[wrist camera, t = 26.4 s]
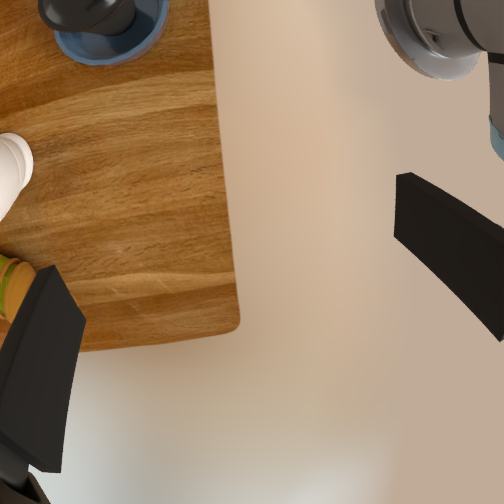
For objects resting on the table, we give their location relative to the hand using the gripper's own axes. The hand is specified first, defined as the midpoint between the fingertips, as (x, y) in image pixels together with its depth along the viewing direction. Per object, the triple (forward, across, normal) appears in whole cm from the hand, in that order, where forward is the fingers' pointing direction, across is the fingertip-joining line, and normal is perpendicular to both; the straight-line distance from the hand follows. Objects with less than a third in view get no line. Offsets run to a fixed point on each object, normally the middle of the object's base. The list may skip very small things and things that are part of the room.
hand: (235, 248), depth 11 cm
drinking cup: (+28, -6, +16) cm, 33 cm away
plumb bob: (+29, -32, -11) cm, 44 cm away
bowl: (+29, -6, +16) cm, 33 cm away
